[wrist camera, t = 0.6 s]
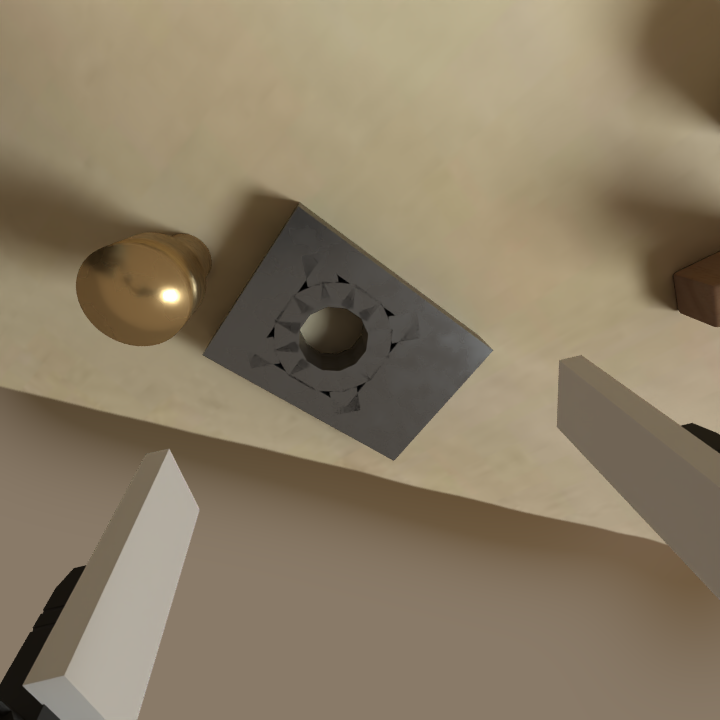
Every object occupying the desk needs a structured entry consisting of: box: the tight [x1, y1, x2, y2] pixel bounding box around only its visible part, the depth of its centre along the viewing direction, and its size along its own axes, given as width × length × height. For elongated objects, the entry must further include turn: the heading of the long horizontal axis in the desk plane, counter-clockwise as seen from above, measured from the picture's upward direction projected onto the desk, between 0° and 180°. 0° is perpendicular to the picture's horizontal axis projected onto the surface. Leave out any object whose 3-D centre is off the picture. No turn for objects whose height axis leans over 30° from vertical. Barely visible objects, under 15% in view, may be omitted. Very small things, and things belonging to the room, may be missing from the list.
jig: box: [203, 202, 493, 461], centre depth 37 cm, size 20×14×4 cm
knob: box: [76, 232, 212, 346], centre depth 29 cm, size 6×6×11 cm
